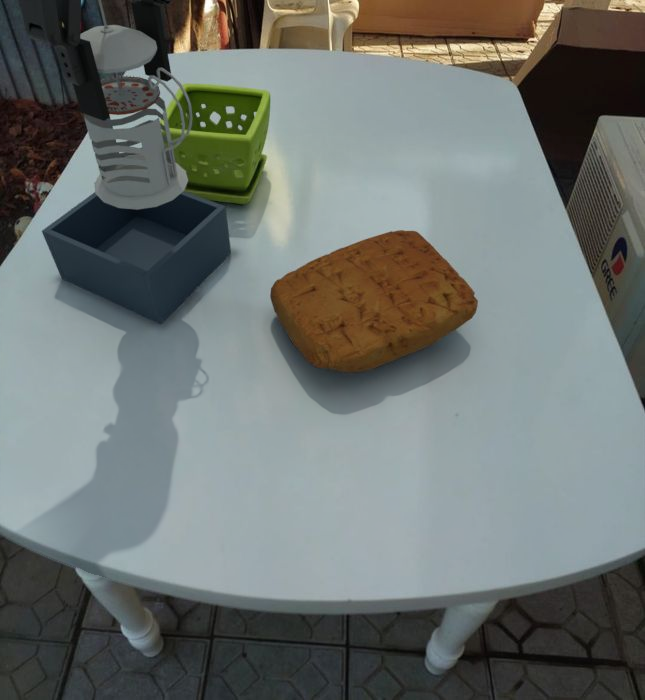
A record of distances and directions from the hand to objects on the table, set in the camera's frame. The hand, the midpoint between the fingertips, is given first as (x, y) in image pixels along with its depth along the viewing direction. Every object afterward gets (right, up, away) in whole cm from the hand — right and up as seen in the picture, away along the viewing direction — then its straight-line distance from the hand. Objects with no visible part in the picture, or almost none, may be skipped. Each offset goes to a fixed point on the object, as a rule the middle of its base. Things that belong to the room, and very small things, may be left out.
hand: (128, 94), depth 55 cm
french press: (0, -6, +8) cm, 10 cm away
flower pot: (+3, +2, +38) cm, 38 cm away
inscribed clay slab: (+24, -21, +19) cm, 37 cm away
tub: (-6, -12, +25) cm, 29 cm away
